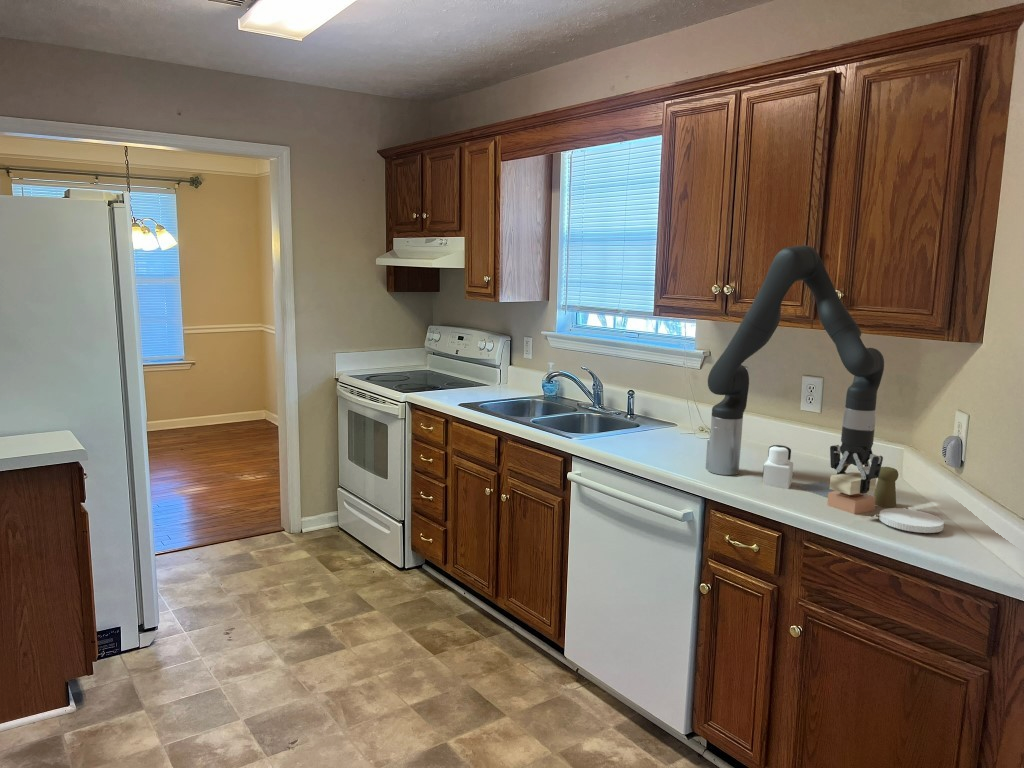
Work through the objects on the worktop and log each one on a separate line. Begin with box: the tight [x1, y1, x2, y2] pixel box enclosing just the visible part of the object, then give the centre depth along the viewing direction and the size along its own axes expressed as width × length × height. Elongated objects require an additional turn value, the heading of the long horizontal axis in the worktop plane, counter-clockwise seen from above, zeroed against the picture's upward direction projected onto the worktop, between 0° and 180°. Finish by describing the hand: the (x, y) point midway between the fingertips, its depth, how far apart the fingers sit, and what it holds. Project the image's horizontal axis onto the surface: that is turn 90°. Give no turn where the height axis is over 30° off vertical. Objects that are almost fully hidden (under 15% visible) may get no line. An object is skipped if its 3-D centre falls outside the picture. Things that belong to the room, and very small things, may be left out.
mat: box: [792, 481, 835, 499], centre depth 210 cm, size 12×12×1 cm
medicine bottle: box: [761, 444, 794, 490], centre depth 214 cm, size 7×7×12 cm
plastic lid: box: [878, 507, 945, 534], centre depth 184 cm, size 14×14×2 cm
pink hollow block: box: [826, 491, 876, 515], centre depth 194 cm, size 8×8×4 cm
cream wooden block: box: [829, 471, 877, 495], centre depth 193 cm, size 6×10×4 cm, turn 119°
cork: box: [873, 466, 899, 509], centre depth 197 cm, size 6×6×11 cm
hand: (852, 489), depth 193 cm, fingers closed on cream wooden block, 6 cm apart
